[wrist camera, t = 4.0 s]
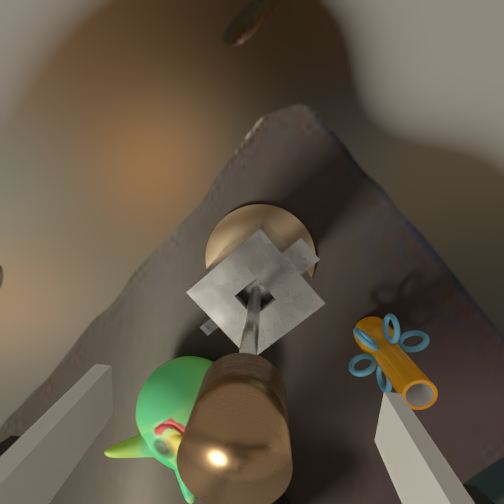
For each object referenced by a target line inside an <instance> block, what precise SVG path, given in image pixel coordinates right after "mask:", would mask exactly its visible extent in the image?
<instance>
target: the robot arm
mask: <svg viewBox="0 0 504 504" xmlns="http://www.w3.org/2000/svg"><path fill="white" fill-rule="evenodd" d="M112 415H113V395H112V376H111V365H100V364H95V365H94V366H93V367H92V368H91V369H90V370H89V371H88V372H87V373H86V374H85V375H84V376H83V377H82V378H81V379H80V380H79V381H78V382H77V383H76V384H75V385H74V386H73V387H72V388H71V389H70V390H69V391H67V392H66V393H65V394H64V395H63V396H62V397H61V398H60V399H59V400H58V401H57V402H56V403H55V404H54V405H53V406H52V407H51V408H50V409H49V410H48V411H47V412H46V413H45V414H44V415H43V416H42V417H41V418H40V419H39V420H38V421H37V422H36V423H34V424H33V425H32V426H31V427H30V428H29V429H28V430H27V431H26V432H25V433H24V434H23V435H22V436H10V437H9V438H7V439H6V440H4V441H3V442H1V443H0V504H49V503H50V502H51V500H52V499H53V497H54V496H55V495H56V493H57V492H58V490H59V489H60V488H61V486H62V485H63V483H64V482H65V481H66V479H67V478H68V476H69V475H70V474H71V472H72V471H73V469H74V468H75V467H76V465H77V464H78V462H79V461H80V460H81V458H82V457H83V455H84V454H85V453H86V451H87V450H88V448H89V447H90V446H91V444H92V443H93V441H94V440H95V439H96V437H97V436H98V434H99V433H100V432H101V430H102V429H103V427H104V426H105V425H106V423H107V422H108V420H109V419H110V418H111V416H112ZM375 443H376V445H377V447H378V450H379V452H380V454H381V457H382V459H383V461H384V463H385V466H386V468H387V470H388V473H389V475H390V477H391V479H392V482H393V484H394V486H395V489H396V491H397V493H398V495H399V498H400V500H401V502H402V504H495V503H494V502H492V500H490V499H489V498H488V497H487V496H486V495H485V494H484V493H483V492H482V491H481V490H480V489H479V488H478V487H477V486H472V485H463V484H462V483H461V482H460V481H459V479H458V478H457V476H456V475H455V473H454V472H453V470H452V469H451V467H450V466H449V464H448V463H447V461H446V460H445V458H444V457H443V455H442V454H441V452H440V451H439V449H438V448H437V446H436V445H435V443H434V442H433V441H432V439H431V438H430V436H429V435H428V433H427V432H426V430H425V429H424V427H423V426H422V424H421V423H420V421H419V420H418V418H417V417H416V415H415V414H414V412H413V411H412V409H411V408H410V406H409V405H408V403H407V402H406V401H405V399H404V398H403V396H402V395H401V393H390V392H384V395H383V400H382V405H381V410H380V415H379V421H378V426H377V431H376V436H375ZM271 504H289V502H288V500H287V499H286V498H285V497H284V496H283V495H281V496H280V497H279V498H278V499H277V500H276V501H274V502H273V503H271Z"/></svg>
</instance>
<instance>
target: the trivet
mask: <svg viewBox="0 0 504 504" xmlns="http://www.w3.org/2000/svg"><path fill="white" fill-rule="evenodd" d="M262 217H264V218H265V220H266V221H267V222H268V223H269V224H270V225H271V227H272V228H273V229H274V230H275V231H276V232H277V233H278V235H279V236H280V237H281V238H282V239H283V240H284V242H285V243H286V244H289V243H290V242H291V241H292V240H293V239H295V238H296V237H297V236H298V235H299V236H300V237H301V238H302V239H303V240H304V242H305V243H306V244H307V245H308V246H309V247H310V249H311V250H312V251H313V252H314V253H315V248H314V244H313V241H312V238H311V236H310V234H309V232H308V230H307V229H306V227H305V226H304V225H303V223H302V222H301V221H300V220H299V219H298V218H296V217H295V216H294V215H293V214H291V213H289V212H288V211H286V210H284V209H282V208H279V207H276V206H272V205H266V204H255V205H248V206H245V207H241V208H239V209H237V210H234V211H233V212H231V213H229V214H228V215H227V216H225V217H224V218H223V219H222V220H221V221H220V222H219V223H218V224H217V226H216V227H215V228H214V230H213V232H212V233H211V235H210V238H209V240H208V243H207V248H206V267H207V268H208V267H209V266H210V264H211V263H212V262H213V261H214V260H215V259H216V258H217V257H218V256H219V255H220V254H221V253H222V252H223V251H224V250H226V249H227V248H228V247H229V246H230V245H231V244H232V243H234V242H235V241H236V240H237V239H238V238H239V237H240V236H242V235H243V234H244V233H245V232H246V231H247V230H248V229H250V228H251V227H252V226H253V225H254V224H255V223H256V222H258V221H259V220H260V219H261V218H262ZM314 268H315V264H314V265H313V266H311V267H310V268H309V269H308V270H307V271H308V273H309V275H310V276H311V278H312V276H313V273H314Z"/></svg>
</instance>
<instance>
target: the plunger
mask: <svg viewBox="0 0 504 504" xmlns="http://www.w3.org/2000/svg"><path fill="white" fill-rule="evenodd" d="M236 295H237V296H238V297H239V298H240V299H241V300H242V301H243V302H244V303H245V305H246V306H247V312H246V317H245V322H244V328H243V333H242V339H241V344H240V349H239V353H233V354H228V355H226V356H223V357H221V358H219V359H218V360H216V361H215V362H214V363H213V364H212V365H211V366H210V367H209V368H208V370H207V371H206V373H205V375H204V378H203V380H202V383H201V386H200V389H199V392H198V394H197V397H196V400H195V403H194V406H193V408H192V411H191V414H190V417H189V420H188V422H187V425H186V428H185V431H184V434H183V436H182V439H181V442H180V445H179V448H178V451H177V459H176V460H177V468H178V472H179V475H180V478H181V480H182V481H183V483H184V485H185V486H186V487H187V489H188V490H189V491H190V492H191V493H192V494H193V495H194V496H196V497H197V498H198V499H199V500H201V501H202V502H204V503H206V504H271V503H273V502H274V501H276V500H277V499H278V498H279V497H280V496H281V495H282V494H283V493H284V492H285V490H286V489H287V487H288V485H289V483H290V480H291V477H292V470H293V465H292V454H291V443H290V432H289V422H288V411H287V400H286V390H285V383H284V380H283V378H282V375H281V374H280V372H279V371H278V369H277V368H276V367H275V366H274V365H273V364H272V363H271V362H269V361H268V360H266V359H264V358H263V357H260V356H258V355H257V351H258V336H259V321H260V309H261V308H262V307H264V306H265V305H266V304H267V303H269V302H270V301H271V300H272V299H274V297H273V296H272V295H271V293H270V292H269V291H268V290H267V289H266V288H265V287H264V286H263V285H262V283H261V282H260V281H259V280H258V279H257V278H256V279H255V280H253V281H252V282H251V283H250V284H249V285H247V286H246V287H245V288H244V289H242V290H241V291H240V292H239V293H238V294H236Z"/></svg>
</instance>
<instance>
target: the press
mask: <svg viewBox="0 0 504 504" xmlns="http://www.w3.org/2000/svg"><path fill="white" fill-rule="evenodd" d="M319 260H320V259H319V258H318V257H317V256H316V255H315V253H314V252H313V251H312V250H311V249H310V247H309V246H308V245H307V244H306V243H305V242H304V240H303V239H302V238H301V237H300V236H299V235H298V236H297V237H296V238H295V239H293V240H292V241H291V242H290V243H289V244H286V243H285V242H284V240H283V239H282V238H281V237H280V236H279V235H278V233H277V232H276V231H275V230H274V229H273V228H272V227H271V225H270V224H269V223H268V222H267V221H266V220H265V218H264V217H262V218H261V219H260V220H259V221H258V222H256V223H255V224H254V225H253V226H252V227H251V228H250V229H248V230H247V231H246V232H245V233H244V234H243V235H242V236H240V237H239V238H238V239H237V240H236V241H235V242H234V243H232V244H231V245H230V246H229V247H228V248H227V249H226V250H224V251H223V252H222V253H221V254H220V255H219V256H218V257H217V258H216V259H215V260H214V261H213V262H212V263H211V264H210V266H209V267H208V268H207V269H206V270H205V271H204V273H203V274H202V275H201V276H200V277H199V278H198V279H197V281H196V282H195V283H194V284H193V285H192V286H191V288H190V289H189V290H188V291H187V293H188V294H189V296H190V297H191V298H192V299H193V300H194V301H195V302H196V303H197V304H198V305H199V306H200V307H201V308H202V309H203V310H204V311H205V312H206V316H205V318H204V320H203V322H202V324H201V326H200V328H201V329H202V331H203V332H204V333H205V334H206V335H207V336H208V335H209V334H211V333H212V332H213V331H214V330H216V329H217V328H218V327H220V328H221V329H222V330H223V331H224V333H225V334H226V335H227V336H228V337H229V338H230V339H231V340H232V341H233V342H234V343H235V344H236V345H237V346H238V347H239V348H240V344H241V339H242V333H243V328H244V322H245V317H246V312H247V306H246V305H245V303H244V302H243V301H242V300H241V299H240V298H239V297H238V296H237V295H236V294H238V293H239V292H240V291H241V290H242V289H244V288H245V287H246V286H247V285H249V284H250V283H251V282H252V281H253V280H255V279H256V278H257V279H258V280H259V281H260V282H261V283H262V285H263V286H264V287H265V288H266V289H267V290H268V291H269V292H270V293H271V295H272V296H273V297H274V299H272V300H271V301H270V302H269V303H267V304H266V305H265V306H264V307H262V308H261V309H260V321H259V336H258V351H257V355H258V354H260V353H261V352H262V351H264V350H265V349H266V348H268V347H269V346H270V345H272V344H273V343H274V342H276V341H277V340H278V339H279V338H281V337H282V336H283V335H285V334H286V333H287V332H289V331H290V330H291V329H293V328H294V327H295V326H297V325H298V324H299V323H301V322H302V321H303V320H305V319H306V318H307V317H309V316H310V315H311V314H312V313H314V312H315V311H316V310H318V309H319V308H320V307H322V306H323V305H324V304H325V302H324V300H323V298H322V297H321V295H320V293H319V291H318V289H317V287H316V286H315V284H314V282H313V280H312V278H311V276H310V275H309V273H308V271H307V270H308V269H309V268H310V267H311V266H313V265H314V264H315V263H316V262H318V261H319Z"/></svg>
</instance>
